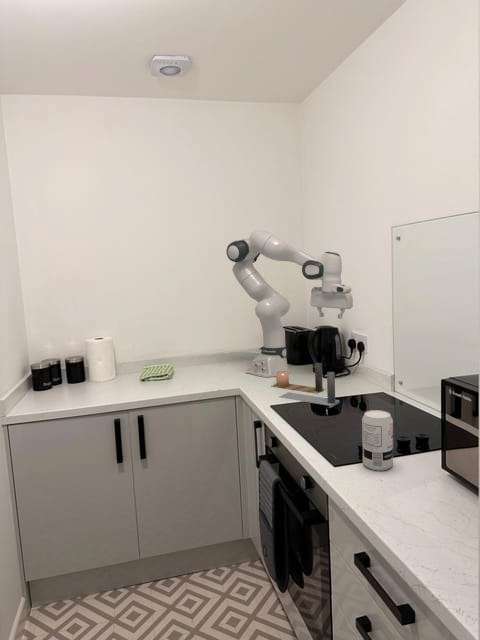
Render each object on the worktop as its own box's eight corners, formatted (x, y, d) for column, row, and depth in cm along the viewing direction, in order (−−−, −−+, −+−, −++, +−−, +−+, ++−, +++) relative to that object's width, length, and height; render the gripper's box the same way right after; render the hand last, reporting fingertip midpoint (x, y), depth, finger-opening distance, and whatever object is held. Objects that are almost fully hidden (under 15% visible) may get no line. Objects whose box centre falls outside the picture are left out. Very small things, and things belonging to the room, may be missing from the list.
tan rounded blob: (274, 386, 221) (273, 373, 221) (280, 383, 226) (280, 370, 225) (284, 387, 218) (284, 374, 217) (291, 384, 222) (290, 371, 222)
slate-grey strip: (278, 399, 205) (277, 368, 203) (288, 394, 211) (287, 365, 209) (330, 408, 190) (329, 375, 188) (339, 402, 196) (338, 371, 195)
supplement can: (358, 460, 142) (358, 410, 140) (386, 458, 143) (386, 408, 141) (368, 472, 134) (367, 419, 132) (397, 470, 135) (397, 417, 133)
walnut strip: (270, 388, 221) (269, 360, 220) (280, 384, 228) (279, 357, 226) (317, 396, 207) (316, 365, 205) (326, 391, 213) (326, 362, 211)
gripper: (308, 287, 228) (307, 316, 230) (348, 289, 216) (347, 320, 217) (314, 286, 233) (314, 315, 235) (354, 288, 221) (353, 318, 222)
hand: (330, 317), depth 226 cm, fingers open, 8 cm apart
